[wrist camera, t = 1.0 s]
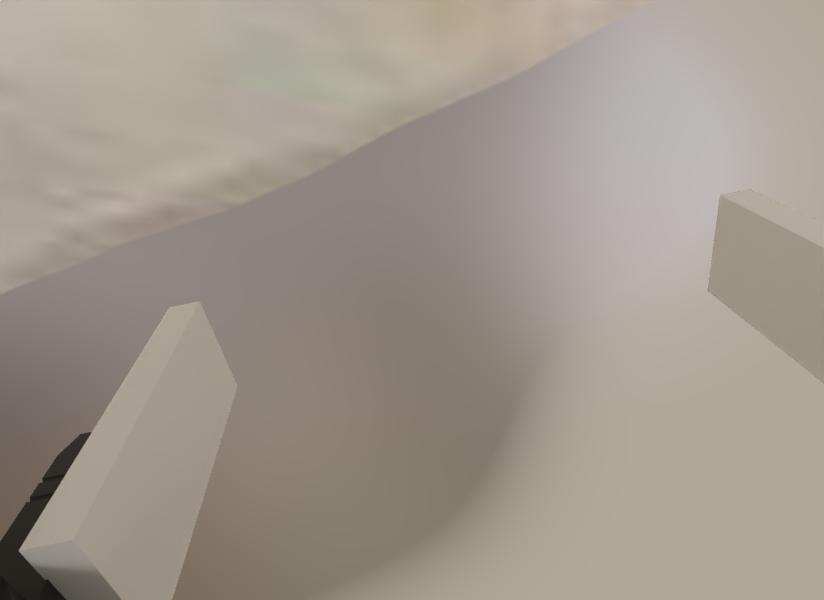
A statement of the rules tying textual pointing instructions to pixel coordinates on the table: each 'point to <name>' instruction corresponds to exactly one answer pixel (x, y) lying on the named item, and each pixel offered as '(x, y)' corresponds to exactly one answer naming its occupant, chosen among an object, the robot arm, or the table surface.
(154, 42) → the table surface
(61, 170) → the table surface
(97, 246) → the table surface
